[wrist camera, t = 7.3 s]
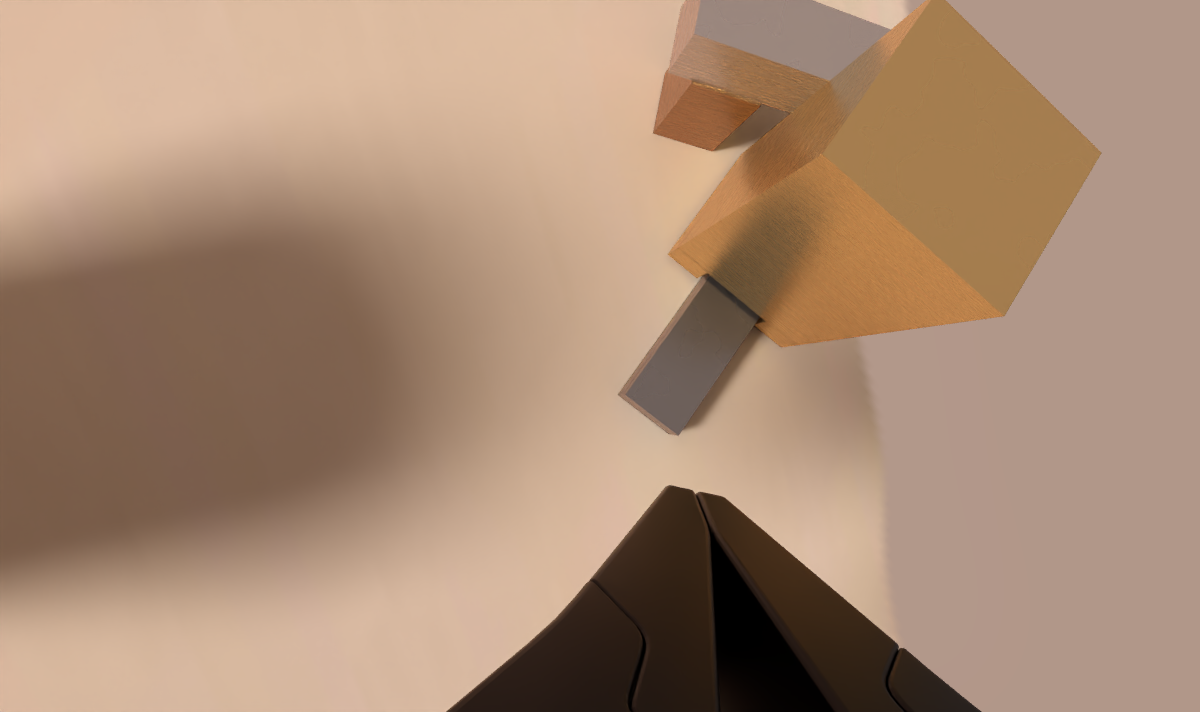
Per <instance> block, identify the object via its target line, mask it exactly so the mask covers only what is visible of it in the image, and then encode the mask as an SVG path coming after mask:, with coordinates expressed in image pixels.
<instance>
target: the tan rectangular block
mask: <svg viewBox="0 0 1200 712" xmlns="http://www.w3.org/2000/svg"><path fill="white" fill-rule="evenodd" d="M1100 155H1101V152H1100V151H1099V150H1098V149H1097V148H1096V147H1095V146H1094V145H1093V144H1092V143H1091V142H1090V141H1089V140H1088V139H1087V138H1086V137H1085V136H1084V135H1083V134H1082V133H1081V132H1080V131H1079V130H1078V129H1077V128H1076V127H1075V126H1074V125H1073V124H1071V123H1070V122H1069V121H1068V120H1067V119H1066V118H1065V117H1064V116H1063V115H1062V114H1061V113H1060V112H1059V111H1058V110H1057V109H1056V108H1055V107H1054V106H1053V105H1052V104H1051V103H1050V102H1049V101H1048V100H1047V99H1046V98H1045V97H1044V96H1043V95H1042V94H1041V93H1040V92H1039V91H1038V90H1037V89H1036V88H1035V87H1033V85H1032V84H1031V83H1030V82H1029V81H1027V80H1026V79H1025V78H1024V77H1023V76H1022V75H1021V74H1020V73H1019V72H1018V71H1017V70H1016V69H1015V68H1014V67H1013V66H1012V65H1011V64H1010V63H1009V62H1008V61H1007V60H1006V59H1005V58H1004V57H1003V56H1002V55H1001V54H1000V53H999V52H998V51H997V50H996V49H995V48H994V47H993V46H992V45H991V44H989V42H987V40H986V39H985V38H984V37H983V36H982V35H981V34H979V33H978V32H977V31H976V30H975V29H974V28H973V27H972V26H971V25H970V24H969V23H968V22H967V21H966V20H965V19H964V18H963V17H962V16H961V15H960V14H959V13H958V12H957V11H956V10H955V9H954V8H953V7H952V6H951V5H950V4H949V3H948V2H947V1H945V0H926V1H925V2H924V3H923V4H921V5H920V6H919V7H918V8H917V9H915V10H914V11H913V12H912V13H911V14H909V15H908V16H907V17H906V18H905V19H903V20H902V21H901V22H900V23H899V24H897V25H896V26H895V27H894V28H893V29H891V30H890V31H889V32H888V33H887V34H885V35H884V36H883V37H882V38H881V39H879V40H878V41H877V42H876V43H875V44H873V45H872V46H871V47H870V48H868V49H867V50H866V51H865V52H864V53H862V54H861V55H860V56H859V57H858V58H856V59H855V60H854V61H853V62H852V63H850V64H849V65H848V66H847V67H846V68H844V69H843V70H842V71H841V72H840V73H838V74H837V75H836V76H835V77H834V78H832V79H831V80H830V81H829V82H828V83H826V84H825V85H824V86H823V87H822V88H820V89H819V90H818V91H817V92H816V93H814V94H813V95H812V96H811V97H810V98H808V99H807V100H806V101H805V102H804V103H802V104H801V105H800V106H799V107H798V108H796V109H795V110H794V111H793V112H792V113H790V114H789V115H788V116H787V117H786V118H784V119H783V120H782V121H781V122H780V123H778V124H777V125H776V126H775V127H774V128H772V129H771V130H770V131H769V132H768V133H766V134H765V135H764V136H763V137H762V138H760V139H759V140H758V141H757V142H755V143H754V144H753V145H752V146H751V147H749V148H748V149H747V150H746V151H745V152H743V153H742V154H741V156H740V157H739V158H738V160H737V161H736V162H735V164H734V165H733V166H732V168H731V169H730V171H729V172H728V173H727V175H726V176H725V177H724V179H723V180H722V181H721V183H720V184H719V186H718V187H717V188H716V190H715V191H714V192H713V194H712V195H711V196H710V198H709V199H708V200H707V202H706V203H705V205H704V206H703V207H702V209H701V210H700V211H699V213H698V214H697V215H696V217H695V218H694V219H693V221H692V222H691V224H690V225H689V226H688V228H687V229H686V230H685V232H684V233H683V234H682V236H681V237H680V239H679V240H678V241H677V243H676V244H675V245H674V247H673V248H672V249H671V251H670V252H669V253H668V255H669V256H670V257H672V258H673V259H674V260H675V261H677V262H678V263H679V264H680V265H681V266H683V267H684V268H685V269H686V270H687V271H689V272H690V273H691V274H692V275H694V276H695V277H696V278H698V277H701V276H703V275H705V274H707V273H708V274H709V275H710V276H711V277H713V278H714V279H715V280H716V281H717V282H719V283H720V284H721V285H722V286H723V287H725V288H726V289H727V290H728V291H730V292H731V293H732V294H733V295H734V296H736V297H737V298H738V299H739V300H740V301H742V302H743V303H744V304H745V305H747V306H748V307H749V308H750V309H751V310H753V311H754V312H755V313H756V314H757V315H759V316H760V317H759V319H758V320H757V322H756V323H755V325H754V326H756V327H757V328H758V329H759V330H761V331H762V332H763V333H764V334H765V335H767V336H768V337H769V338H770V339H771V340H773V341H774V342H775V343H776V344H778V345H779V346H780V347H787V346H794V345H802V344H809V343H816V342H823V341H830V340H837V339H844V338H852V337H859V336H866V335H873V334H880V333H887V332H894V331H901V330H909V329H916V328H923V327H930V326H937V325H944V324H952V323H958V322H966V321H972V320H980V319H987V318H994V317H1002V316H1005V314H1006V312H1007V311H1008V309H1009V307H1010V306H1011V304H1012V302H1013V301H1014V299H1015V297H1016V296H1017V294H1018V292H1019V290H1020V289H1021V287H1022V285H1023V284H1024V282H1025V280H1026V279H1027V277H1028V276H1029V274H1030V272H1031V270H1032V269H1033V267H1034V265H1035V264H1036V262H1037V260H1038V259H1039V257H1040V255H1041V254H1042V252H1043V250H1044V249H1045V247H1046V245H1047V243H1048V242H1049V240H1050V239H1051V237H1052V235H1053V234H1054V232H1055V230H1056V228H1057V227H1058V225H1059V224H1060V222H1061V220H1062V218H1063V217H1064V215H1065V213H1066V212H1067V210H1068V208H1069V207H1070V205H1071V203H1072V202H1073V200H1074V198H1075V197H1076V195H1077V193H1078V192H1079V190H1080V188H1081V187H1082V185H1083V183H1084V181H1085V180H1086V178H1087V176H1088V175H1089V173H1090V171H1091V170H1092V168H1093V166H1094V165H1095V163H1096V161H1097V160H1098V158H1099V156H1100Z"/></svg>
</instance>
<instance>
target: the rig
mask: <svg viewBox="0 0 1200 712" xmlns="http://www.w3.org/2000/svg"><path fill="white" fill-rule="evenodd" d="M889 31H890V29H888V28H885V27H882V26H880V25H877V24H874V23H872V22H869V21H866V20H864V19H861V18H858V17H856V16H853V15H850V14H848V13H845V12H842V11H839V10H837V9H834V8H831V7H829V6H826V5H823V4H821V3H818V2H815V1H813V0H685V2H684V4H683V5H682V7H681V10H680V15H679V20H678V25H677V30H676V35H675V40H674V45H673V50H672V55H671V60H670V65H669V68H668V70H667V71H666V73H665V77H664V82H663V87H662V92H661V97H660V102H659V107H658V112H657V117H656V122H655V127H654V132H653V133H654V134H657V135H661V136H664V137H667V138H670V139H674V140H677V141H680V142H683V143H687V144H690V145H693V146H696V147H700V148H703V149H706V150H710V151H713V150H714V149H715V148H716V147H717V146H718V145H719V144H720V143H721V142H723V141H724V140H725V139H726V138H727V137H728V136H729V135H730V134H731V133H732V132H733V131H734V130H735V129H736V128H737V127H739V126H740V125H741V124H742V123H743V122H744V121H745V120H746V119H747V118H748V117H749V116H750V115H751V114H752V113H753V112H755V111H756V110H757V109H758V108H759V107H760V105H761V104H764V105H767V106H770V107H773V108H776V109H779V110H782V111H785V112H788V113H792V112H793V111H794V110H795V109H796V108H798V107H799V106H800V105H801V104H802V103H804V102H805V101H806V100H807V99H808V98H810V97H811V96H812V95H813V94H814V93H816V92H817V91H818V90H819V89H820V88H822V87H823V86H824V85H825V84H826V83H828V82H829V81H830V80H831V79H832V78H834V77H835V76H836V75H837V74H838V73H840V72H841V71H842V70H843V69H844V68H846V67H847V66H848V65H849V64H850V63H852V62H853V61H854V60H855V59H856V58H858V57H859V56H860V55H861V54H862V53H864V52H865V51H866V50H867V49H868V48H870V47H871V46H872V45H873V44H875V43H876V42H877V41H878V40H879V39H881V38H882V37H883V36H884V35H885V34H887V33H888V32H889ZM759 317H760V316H759V315H757V314H756V313H755V312H754V311H753V310H751V309H750V308H749V307H748V306H747V305H745V304H744V303H743V302H742V301H740V300H739V299H738V298H737V297H736V296H734V295H733V294H732V293H731V292H730V291H728V290H727V289H726V288H725V287H723V286H722V285H721V284H720V283H719V282H717V281H716V280H715V279H714V278H713V277H711V276H710V275H709V274H708V273H707V274H705V275H703V277H702V278H701V279H700V281H699V282H698V284H697V285H696V286H695V288H694V289H693V290H692V292H691V293H690V295H689V296H688V297H687V299H686V300H685V302H684V303H683V304H682V306H681V307H680V309H679V310H678V311H677V313H676V314H675V316H674V317H673V318H672V320H671V321H670V323H669V324H668V325H667V327H666V328H665V330H664V331H663V332H662V334H661V335H660V337H659V338H658V339H657V341H656V342H655V344H654V345H653V346H652V348H651V349H650V350H649V352H648V353H647V355H646V356H645V357H644V359H643V360H642V362H641V363H640V364H639V366H638V367H637V369H636V370H635V371H634V373H633V374H632V376H631V377H630V378H629V380H628V381H627V383H626V384H625V385H624V387H623V388H622V390H621V391H620V392H619V394H618V395H619V396H620V397H622V398H623V399H624V400H625V401H627V402H628V403H629V404H631V405H632V406H633V407H635V408H636V409H637V410H638V411H640V412H641V413H642V414H644V415H645V416H646V417H648V418H649V419H650V420H652V421H653V422H654V423H655V424H657V425H658V426H659V427H661V428H662V429H663V430H665V431H666V432H667V433H668V434H672V435H677V436H679V434H680V433H681V431H682V430H683V428H684V427H685V425H686V424H687V422H688V421H689V420H690V418H691V417H692V415H693V414H694V412H695V411H696V409H697V408H698V406H699V405H700V403H701V402H702V401H703V399H704V398H705V396H706V395H707V393H708V392H709V390H710V389H711V387H712V386H713V385H714V383H715V382H716V380H717V379H718V377H719V376H720V374H721V373H722V371H723V370H724V368H725V367H726V366H727V364H728V363H729V361H730V360H731V358H732V357H733V355H734V354H735V352H736V351H737V349H738V348H739V347H740V345H741V344H742V342H743V341H744V339H745V338H746V336H747V335H748V333H749V332H750V331H751V329H752V328H753V326H754V325H755V323H756V322H757V320H758V319H759Z"/></svg>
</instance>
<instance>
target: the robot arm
mask: <svg viewBox="0 0 1200 712" xmlns="http://www.w3.org/2000/svg"><path fill="white" fill-rule="evenodd" d="M898 649H899V646H898V644H897V643H896V642H895V641H893V640H892V639H891V638H890V637H889V636H888V635H886V634H885V633H884V632H883V631H882V630H880V629H879V628H878V627H877V626H876V625H875V624H873V623H872V622H871V621H870V620H869V619H867V618H866V617H865V616H864V615H863V614H862V613H860V612H859V611H858V610H857V609H856V608H854V607H853V606H852V605H851V604H850V603H849V602H847V601H846V600H845V599H844V598H843V597H842V596H840V595H839V594H838V593H837V592H836V591H834V590H833V589H832V588H831V587H830V586H829V585H827V584H826V583H825V582H824V581H823V580H821V579H820V578H819V577H818V576H817V575H816V574H814V573H813V572H812V571H811V570H810V569H808V568H807V567H806V566H805V565H804V564H803V563H801V562H800V561H799V560H798V559H797V558H795V557H794V556H793V555H792V554H791V553H790V552H788V551H787V550H786V549H785V548H784V547H782V546H781V545H780V544H779V543H778V542H777V541H775V540H774V539H773V538H772V537H771V536H769V535H768V534H767V533H766V532H765V531H764V530H762V529H761V528H760V527H759V526H758V525H756V524H755V523H754V522H753V521H752V520H751V519H749V518H748V517H747V516H746V515H745V514H743V513H742V512H741V511H740V510H739V509H738V508H736V507H735V506H734V505H733V504H732V503H731V502H729V501H728V500H727V499H726V498H724V497H722V496H718V495H713V494H709V493H704V492H698V493H696V494H695V493H694V491H693V490H690V489H685V488H680V487H676V486H671V485H669V486H667V487H665V488H664V490H663V491H662V492H661V493H660V494H659V496H658V497H657V498H656V499H655V501H654V502H653V503H652V504H651V506H650V507H649V508H648V509H647V510H646V512H645V513H644V514H643V515H642V517H641V518H640V519H639V520H638V521H637V523H636V524H635V525H634V526H633V528H632V529H631V530H630V531H629V533H628V534H627V535H626V536H625V537H624V539H623V540H622V541H621V542H620V544H619V545H618V546H617V547H616V549H615V550H614V551H613V552H612V553H611V555H610V556H609V557H608V558H607V560H606V561H605V562H604V563H603V565H602V566H601V567H600V568H599V569H598V571H597V572H596V573H595V574H594V576H593V577H592V578H591V579H590V581H589V582H587V583H586V584H585V585H584V587H583V588H582V589H581V590H580V592H579V593H578V594H577V595H576V596H575V598H574V599H573V600H572V601H571V602H570V603H569V604H568V605H567V606H566V608H565V609H564V610H563V611H562V612H561V613H560V614H559V615H558V616H557V617H556V618H555V620H553V621H552V622H551V623H550V624H549V625H548V626H547V627H546V628H545V629H544V630H542V631H541V632H540V633H539V634H538V635H537V636H536V637H535V638H534V639H532V640H531V641H530V642H529V643H528V644H527V645H526V646H524V647H523V648H522V649H521V650H520V651H518V652H517V653H516V654H515V655H514V656H512V657H511V658H510V659H509V660H508V661H506V662H505V663H504V664H503V665H502V666H500V667H499V668H498V669H497V670H496V671H494V672H493V673H492V674H491V675H490V676H488V677H487V678H486V679H485V680H484V681H482V682H481V683H480V684H479V685H478V686H476V687H475V688H474V689H473V690H472V691H470V692H469V693H468V694H467V695H466V696H464V697H463V698H462V699H461V700H460V701H458V702H457V703H456V704H455V705H454V706H452V707H451V708H450V709H449V710H448V711H446V712H981V711H980V710H979V709H977V708H976V707H975V706H973V705H972V704H971V703H970V702H968V701H967V700H966V699H965V698H964V697H962V696H961V695H960V694H959V693H957V692H956V691H955V690H954V689H953V688H951V687H950V686H949V685H948V684H946V683H945V682H944V681H943V680H942V679H940V678H939V677H938V676H937V675H935V674H934V673H933V672H932V671H931V670H929V669H928V668H927V667H926V666H925V665H923V664H922V663H921V662H920V661H919V660H918V659H916V658H915V657H914V656H913V655H912V654H911V653H909V652H908V651H907V650H906V649H904V648H900V649H899V650H898Z"/></svg>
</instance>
